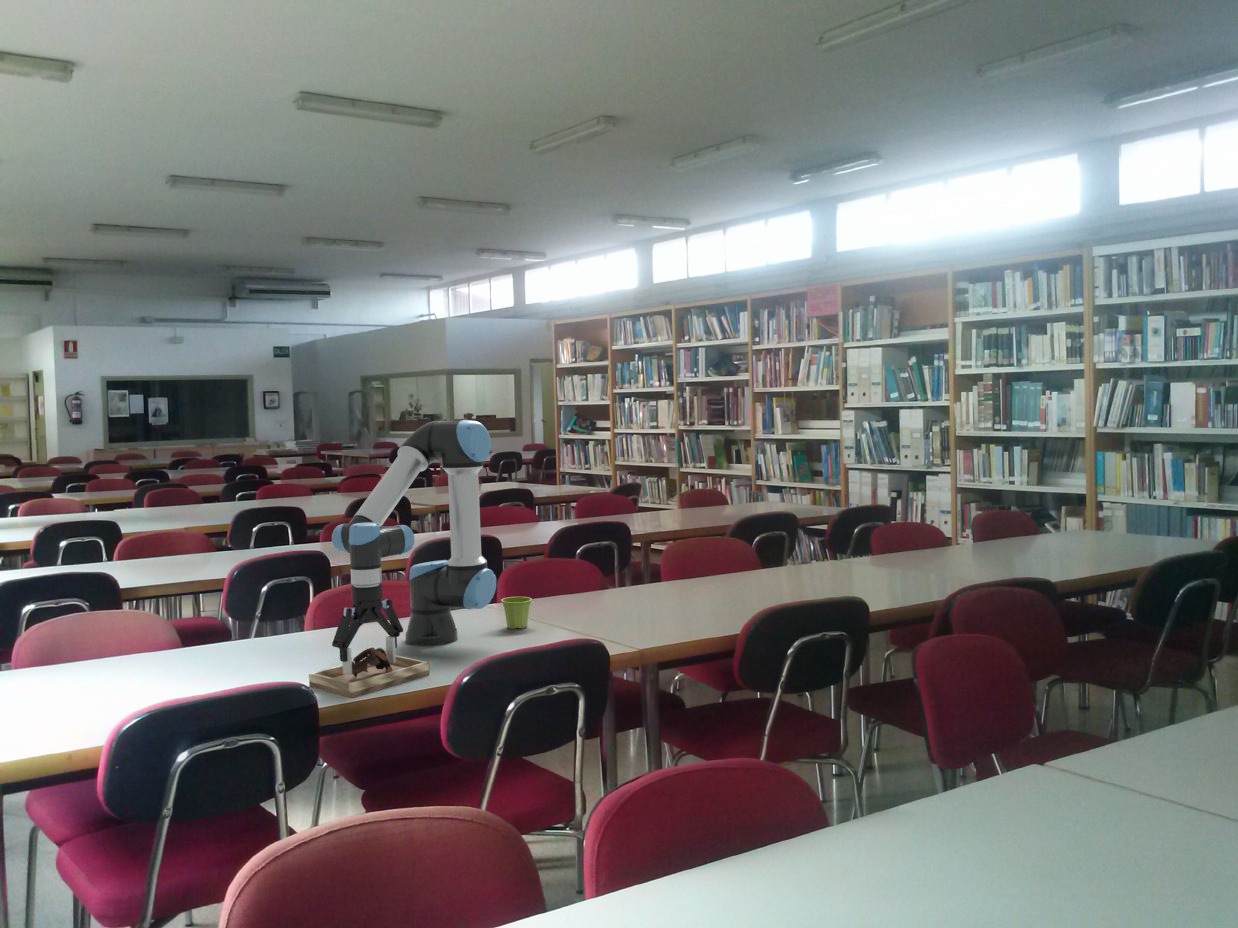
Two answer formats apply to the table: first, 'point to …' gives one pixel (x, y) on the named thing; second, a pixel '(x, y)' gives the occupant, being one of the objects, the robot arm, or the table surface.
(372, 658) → the dark brown arched piece
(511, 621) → the plant pot
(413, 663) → the wooden tray
